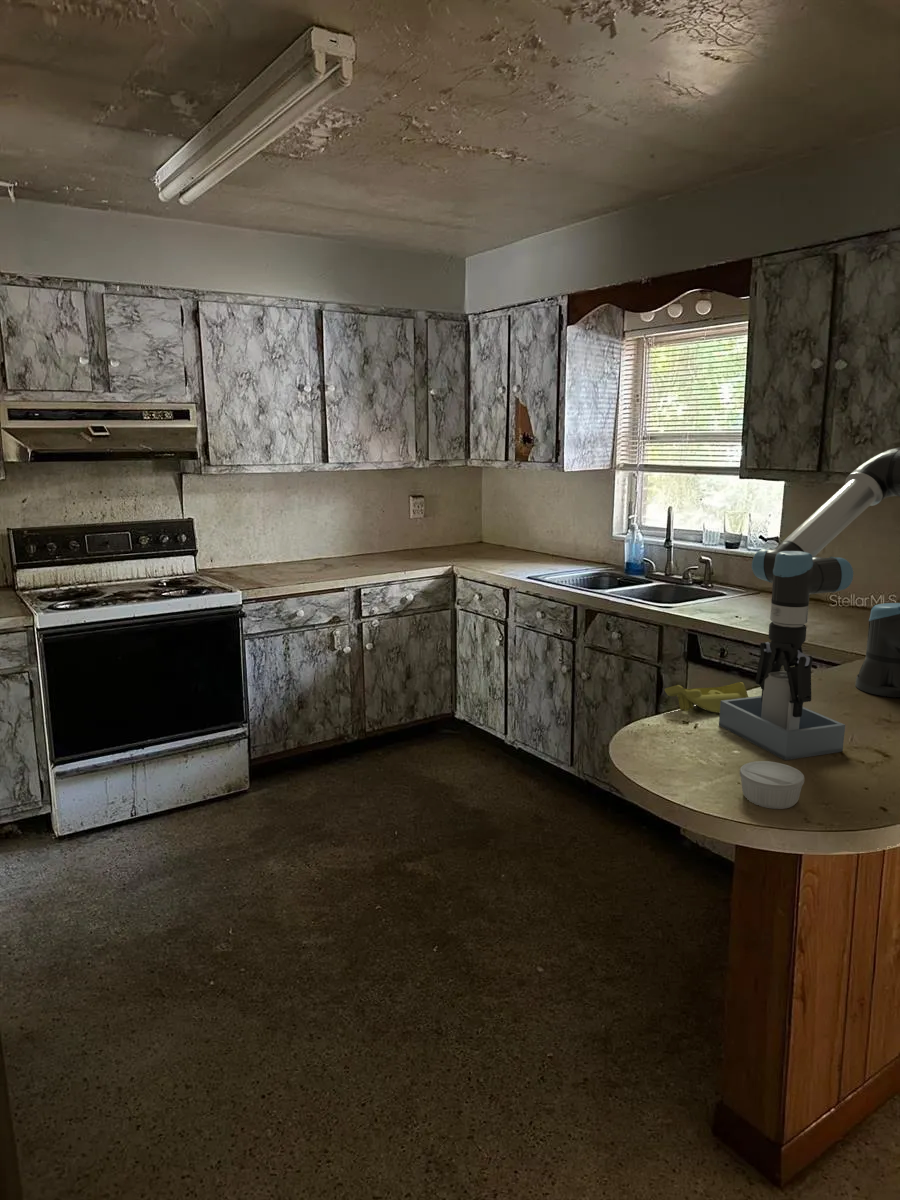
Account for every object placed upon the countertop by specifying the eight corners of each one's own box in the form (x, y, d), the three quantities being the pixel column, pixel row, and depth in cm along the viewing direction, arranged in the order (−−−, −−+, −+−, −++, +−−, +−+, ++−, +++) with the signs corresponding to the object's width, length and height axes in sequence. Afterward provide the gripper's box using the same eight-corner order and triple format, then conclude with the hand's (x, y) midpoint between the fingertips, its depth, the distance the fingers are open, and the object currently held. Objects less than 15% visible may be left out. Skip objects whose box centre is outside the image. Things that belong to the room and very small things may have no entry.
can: (804, 730, 183) (809, 677, 181) (775, 734, 181) (780, 680, 179) (782, 719, 190) (786, 668, 188) (754, 722, 188) (758, 671, 186)
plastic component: (719, 687, 215) (746, 680, 207) (724, 716, 214) (752, 710, 205) (656, 690, 208) (681, 683, 199) (661, 720, 206) (687, 714, 197)
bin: (771, 718, 199) (774, 694, 198) (842, 751, 179) (845, 724, 177) (718, 725, 194) (720, 700, 193) (785, 760, 174) (787, 732, 172)
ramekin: (742, 809, 152) (744, 782, 150) (734, 784, 162) (736, 758, 161) (808, 815, 149) (810, 787, 148) (795, 789, 160) (798, 763, 159)
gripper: (742, 614, 189) (735, 711, 194) (808, 635, 170) (798, 741, 175) (770, 612, 192) (762, 707, 196) (837, 632, 173) (827, 737, 177)
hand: (779, 723), depth 186 cm, fingers closed on can, 7 cm apart
